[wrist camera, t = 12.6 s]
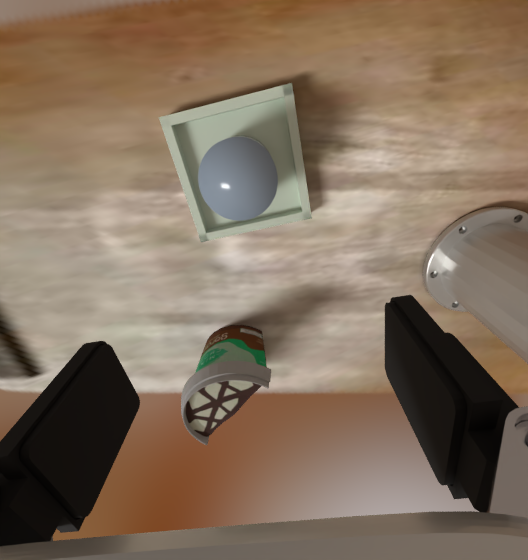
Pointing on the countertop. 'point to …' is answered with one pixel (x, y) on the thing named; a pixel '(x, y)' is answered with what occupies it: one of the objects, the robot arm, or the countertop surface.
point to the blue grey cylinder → (238, 178)
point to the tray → (249, 122)
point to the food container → (224, 379)
